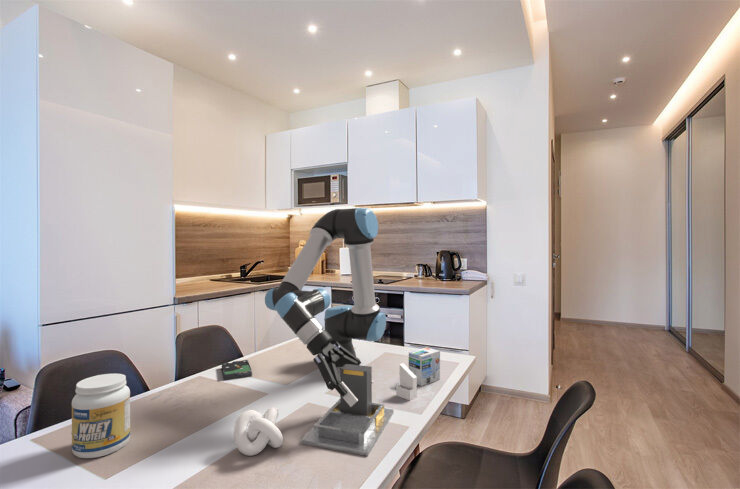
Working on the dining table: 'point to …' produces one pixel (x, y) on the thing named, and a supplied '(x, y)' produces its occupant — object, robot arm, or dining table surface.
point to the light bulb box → (425, 365)
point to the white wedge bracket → (407, 384)
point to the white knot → (257, 431)
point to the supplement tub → (100, 415)
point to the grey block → (357, 388)
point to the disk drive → (236, 370)
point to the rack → (349, 430)
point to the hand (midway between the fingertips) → (363, 393)
